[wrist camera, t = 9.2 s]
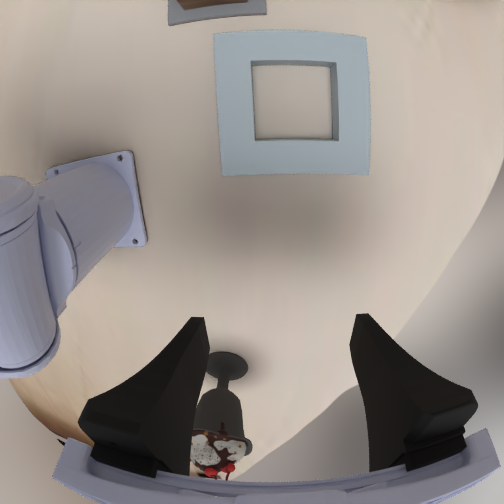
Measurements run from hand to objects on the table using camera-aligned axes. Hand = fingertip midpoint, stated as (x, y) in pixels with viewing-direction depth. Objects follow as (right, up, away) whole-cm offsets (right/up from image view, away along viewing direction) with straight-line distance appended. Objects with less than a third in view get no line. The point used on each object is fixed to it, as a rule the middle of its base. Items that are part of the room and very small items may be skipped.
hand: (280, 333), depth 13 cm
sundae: (-4, -9, +16) cm, 19 cm away
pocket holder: (+2, +14, +4) cm, 15 cm away
